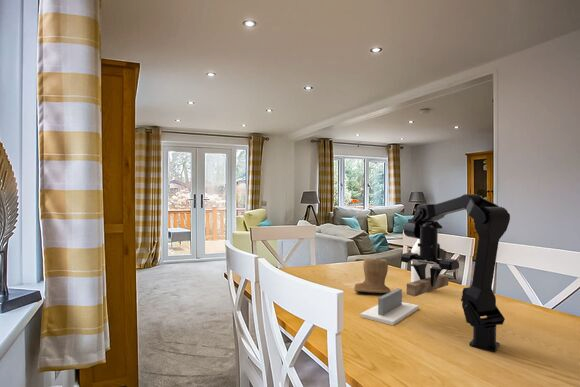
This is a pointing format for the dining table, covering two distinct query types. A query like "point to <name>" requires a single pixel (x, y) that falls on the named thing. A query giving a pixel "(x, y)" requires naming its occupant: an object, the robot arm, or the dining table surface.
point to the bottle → (413, 272)
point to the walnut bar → (426, 285)
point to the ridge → (390, 308)
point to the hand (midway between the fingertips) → (428, 285)
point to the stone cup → (374, 276)
